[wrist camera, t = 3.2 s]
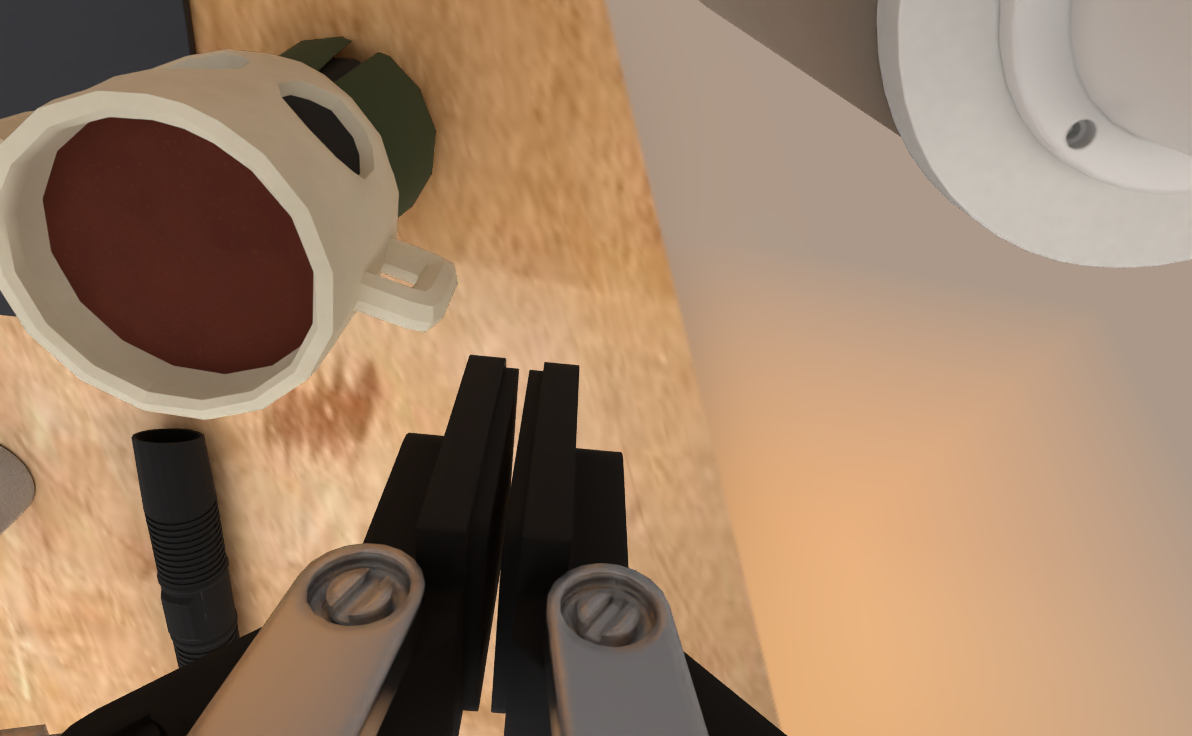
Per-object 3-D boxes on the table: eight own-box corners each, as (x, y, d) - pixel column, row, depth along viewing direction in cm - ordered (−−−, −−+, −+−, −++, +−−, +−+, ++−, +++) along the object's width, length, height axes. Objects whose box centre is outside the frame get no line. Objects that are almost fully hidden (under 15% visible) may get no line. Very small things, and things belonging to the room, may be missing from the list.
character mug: (531, 95, 26) (473, 214, 15) (468, 275, 29) (381, 488, 18) (205, -42, 24) (-149, -26, 13) (177, 167, 27) (-127, 328, 16)
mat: (164, -183, 22) (157, -186, 22) (233, 334, 31) (228, 338, 30) (-191, -230, 22) (-203, -232, 22) (-24, 307, 30) (-32, 311, 30)
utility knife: (266, 734, 43) (244, 786, 40) (194, 728, 43) (167, 780, 40) (218, 410, 32) (183, 451, 30) (121, 400, 32) (78, 441, 30)
